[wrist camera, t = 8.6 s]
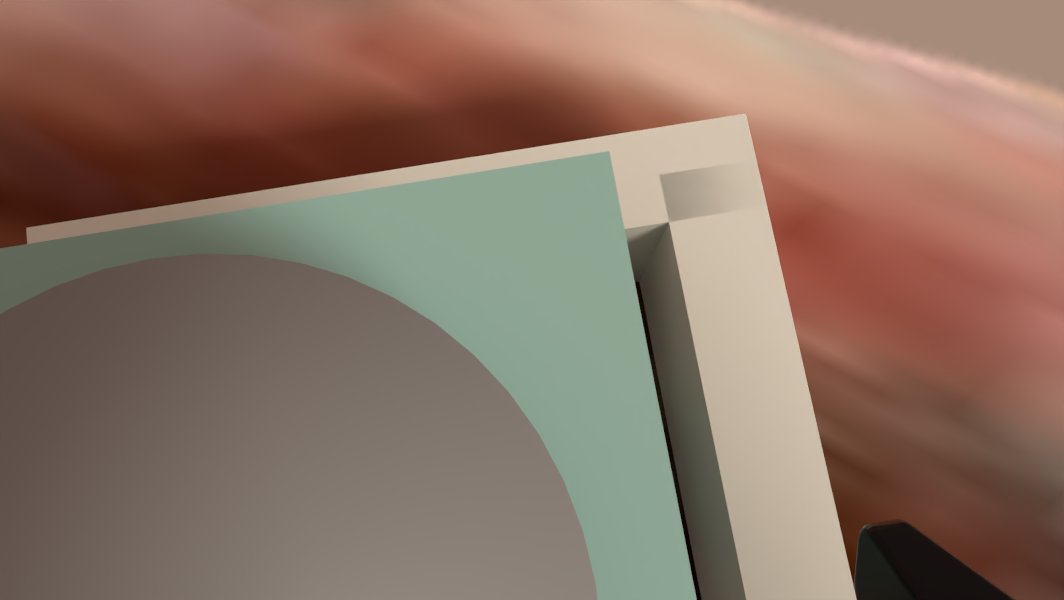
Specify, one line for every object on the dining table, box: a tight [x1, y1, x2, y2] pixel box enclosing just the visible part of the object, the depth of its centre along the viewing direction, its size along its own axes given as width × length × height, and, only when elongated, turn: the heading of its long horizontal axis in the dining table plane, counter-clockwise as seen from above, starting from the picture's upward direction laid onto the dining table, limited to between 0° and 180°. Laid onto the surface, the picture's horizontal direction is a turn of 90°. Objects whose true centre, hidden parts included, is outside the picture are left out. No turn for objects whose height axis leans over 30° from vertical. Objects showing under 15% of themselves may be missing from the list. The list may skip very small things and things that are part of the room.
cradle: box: [26, 114, 857, 600], centre depth 15 cm, size 10×11×4 cm
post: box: [0, 151, 697, 600], centre depth 10 cm, size 4×4×14 cm
